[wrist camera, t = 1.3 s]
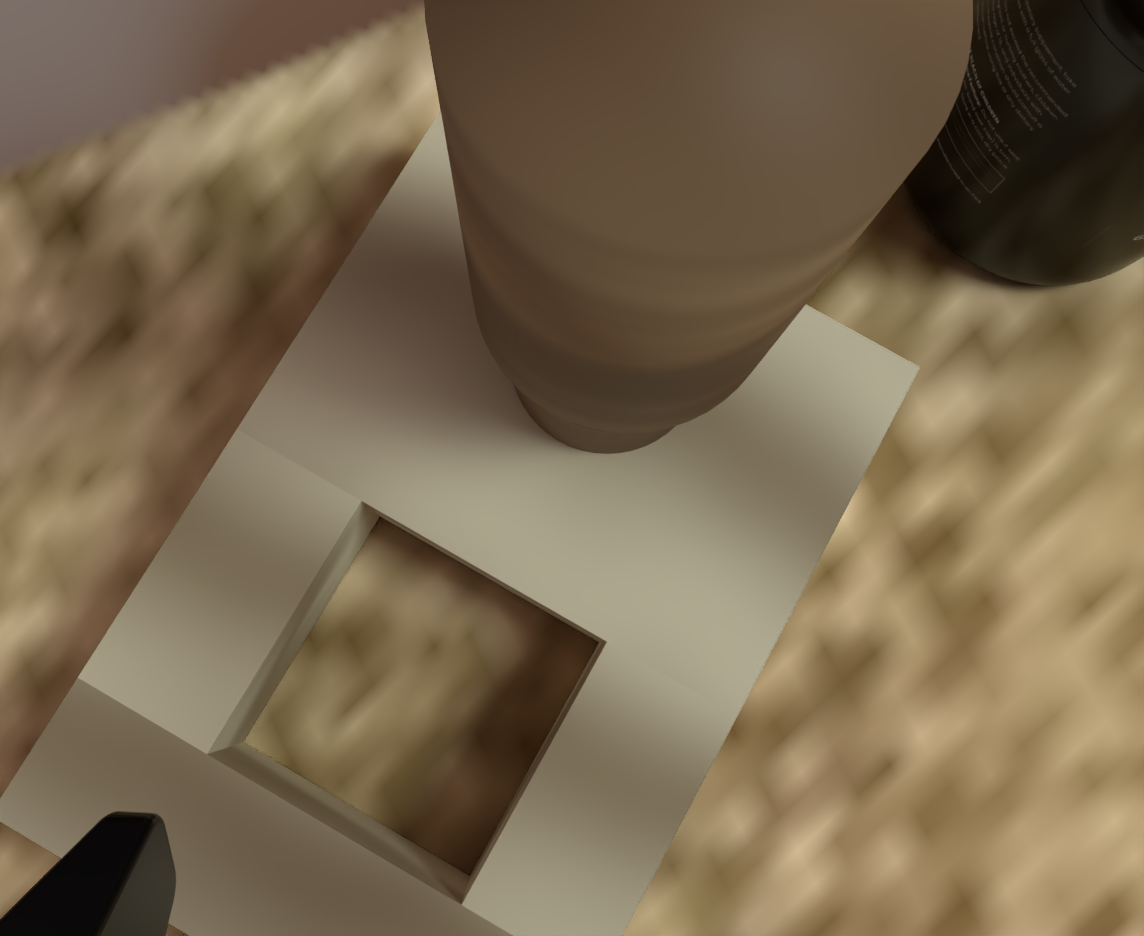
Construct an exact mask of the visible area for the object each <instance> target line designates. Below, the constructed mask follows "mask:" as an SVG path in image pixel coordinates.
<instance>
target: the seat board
mask: <svg viewBox="0 0 1144 936" xmlns="http://www.w3.org/2000/svg"><path fill="white" fill-rule="evenodd" d="M919 369H920V367H919V366H917V365H915V364H913V363H912V362H910V361H908V360H906V359H904V358H902V357H901V356H899V355H897V354H895V353H893V352H892V351H890V350H888V349H886V348H884V347H882V346H881V345H879V344H877V343H875V342H873V341H871V340H870V339H868V338H866V337H864V336H862V335H861V334H859V333H857V332H855V331H853V330H851V329H850V328H848V327H846V326H844V325H842V324H841V323H839V322H837V321H835V320H833V319H831V318H830V317H828V316H826V315H824V314H822V313H821V312H819V311H817V310H815V309H813V308H811V307H810V306H808V305H805V306H804V307H803V308H802V310H801V311H800V312H799V314H798V315H797V316H796V317H795V319H794V320H793V321H792V322H791V324H790V325H789V326H788V327H787V329H786V330H785V331H784V332H783V334H782V335H781V336H780V337H779V339H778V340H777V341H776V342H775V344H774V345H773V346H772V347H771V349H770V350H769V351H768V353H767V354H766V355H765V356H764V358H763V359H762V360H761V361H760V363H759V364H758V365H757V366H756V368H755V369H754V370H753V371H752V373H751V374H750V375H749V376H748V377H747V379H746V380H745V381H744V382H743V383H742V384H741V386H740V387H739V388H738V389H737V390H736V391H735V392H733V393H732V394H731V395H730V396H729V397H728V398H727V399H725V400H724V401H723V402H722V403H720V404H719V405H717V406H716V407H714V408H713V409H711V410H710V411H708V412H707V413H705V414H703V415H701V416H699V417H697V418H695V419H693V420H691V421H689V422H686V423H683V424H680V425H677V426H675V427H674V428H673V429H672V430H671V431H670V432H668V433H667V434H666V435H664V436H663V437H661V438H660V439H658V440H657V441H655V442H653V443H651V444H649V445H647V446H645V447H642V448H639V449H636V450H633V451H628V452H623V453H614V454H602V453H592V452H587V451H582V450H579V449H576V448H573V447H570V446H568V445H566V444H564V443H562V442H560V441H558V440H557V439H555V438H553V437H552V436H550V435H549V434H548V433H546V432H545V431H544V430H543V429H542V428H541V427H539V426H538V425H537V423H536V422H535V421H534V420H533V419H532V418H531V417H530V415H529V414H528V412H527V411H526V410H525V408H524V407H523V405H522V403H521V401H520V399H519V397H518V395H517V392H516V389H515V386H514V384H513V383H512V382H511V381H510V379H509V378H508V377H507V376H506V375H505V374H504V373H503V371H502V370H501V368H500V367H499V365H498V364H497V363H496V361H495V360H494V358H493V357H492V355H491V353H490V351H489V349H488V347H487V345H486V343H485V341H484V339H483V336H482V333H481V330H480V327H479V324H478V322H477V318H476V312H475V307H474V302H473V297H472V291H471V285H470V279H469V273H468V267H467V262H466V256H465V250H464V244H463V238H462V232H461V226H460V220H459V215H458V209H457V203H456V197H455V191H454V185H453V179H452V174H451V168H450V162H449V156H448V150H447V144H446V138H445V132H444V127H443V121H442V115H441V111H440V112H439V114H438V116H437V117H436V119H435V120H434V122H433V123H432V125H431V127H430V128H429V130H428V131H427V133H426V134H425V136H424V137H423V139H422V141H421V142H420V144H419V145H418V147H417V148H416V150H415V152H414V153H413V155H412V156H411V158H410V159H409V161H408V162H407V164H406V166H405V167H404V169H403V170H402V172H401V173H400V175H399V176H398V178H397V180H396V181H395V183H394V184H393V186H392V187H391V189H390V191H389V192H388V194H387V195H386V197H385V198H384V200H383V201H382V203H381V205H380V206H379V208H378V209H377V211H376V212H375V214H374V216H373V217H372V219H371V220H370V222H369V223H368V225H367V226H366V228H365V230H364V231H363V233H362V234H361V236H360V237H359V239H358V241H357V242H356V244H355V245H354V247H353V248H352V250H351V251H350V253H349V255H348V256H347V258H346V259H345V261H344V262H343V264H342V265H341V267H340V269H339V270H338V272H337V273H336V275H335V276H334V278H333V280H332V281H331V283H330V284H329V286H328V287H327V289H326V290H325V292H324V294H323V295H322V297H321V298H320V300H319V301H318V303H317V305H316V306H315V308H314V309H313V311H312V312H311V314H310V315H309V317H308V319H307V320H306V322H305V323H304V325H303V326H302V328H301V330H300V331H299V333H298V334H297V336H296V337H295V339H294V340H293V342H292V344H291V345H290V347H289V348H288V350H287V351H286V353H285V354H284V356H283V358H282V359H281V361H280V362H279V364H278V365H277V367H276V369H275V370H274V372H273V373H272V375H271V376H270V378H269V379H268V381H267V383H266V384H265V386H264V387H263V389H262V390H261V392H260V394H259V395H258V397H257V398H256V400H255V401H254V403H253V404H252V406H251V408H250V409H249V411H248V412H247V414H246V415H245V417H244V419H243V420H242V422H241V423H240V425H239V426H238V428H237V429H236V431H235V433H234V434H233V436H232V437H231V439H230V440H229V442H228V443H227V445H226V447H225V448H224V450H223V451H222V453H221V454H220V456H219V458H218V459H217V461H216V462H215V464H214V465H213V467H212V468H211V470H210V472H209V473H208V475H207V476H206V478H205V479H204V481H203V483H202V484H201V486H200V487H199V489H198V490H197V492H196V493H195V495H194V497H193V498H192V500H191V501H190V503H189V504H188V506H187V508H186V509H185V511H184V512H183V514H182V515H181V517H180V518H179V520H178V522H177V523H176V525H175V526H174V528H173V529H172V531H171V532H170V534H169V536H168V537H167V539H166V540H165V542H164V543H163V545H162V547H161V548H160V550H159V551H158V553H157V554H156V556H155V557H154V559H153V561H152V562H151V564H150V565H149V567H148V568H147V570H146V572H145V573H144V575H143V576H142V578H141V579H140V581H139V582H138V584H137V586H136V587H135V589H134V590H133V592H132V593H131V595H130V597H129V598H128V600H127V601H126V603H125V604H124V606H123V607H122V609H121V611H120V612H119V614H118V615H117V617H116V618H115V620H114V621H113V623H112V625H111V626H110V628H109V629H108V631H107V632H106V634H105V636H104V637H103V639H102V640H101V642H100V643H99V645H98V646H97V648H96V650H95V651H94V653H93V654H92V656H91V657H90V659H89V661H88V662H87V664H86V665H85V667H84V668H83V670H82V671H81V673H80V675H79V676H78V678H77V679H76V681H75V682H74V684H73V686H72V687H71V689H70V690H69V692H68V693H67V695H66V696H65V698H64V700H63V701H62V703H61V704H60V706H59V707H58V709H57V710H56V712H55V714H54V715H53V717H52V718H51V720H50V721H49V723H48V725H47V726H46V728H45V729H44V731H43V732H42V734H41V735H40V737H39V739H38V740H37V742H36V743H35V745H34V746H33V748H32V750H31V751H30V753H29V754H28V756H27V757H26V759H25V760H24V762H23V764H22V765H21V767H20V768H19V770H18V771H17V773H16V775H15V776H14V778H13V779H12V781H11V782H10V784H9V785H8V787H7V789H6V790H5V792H4V793H3V795H2V796H1V798H0V822H2V823H3V824H5V825H7V826H8V827H10V828H12V829H13V830H15V831H17V832H18V833H20V834H21V835H23V836H25V837H26V838H28V839H30V840H31V841H33V842H35V843H36V844H38V845H40V846H41V847H43V848H45V849H46V850H48V851H50V852H51V853H53V854H55V855H56V856H58V857H60V858H62V857H63V856H64V855H65V854H66V853H67V852H68V851H69V850H71V849H72V848H73V847H74V846H75V845H76V844H77V843H78V842H79V841H80V840H81V839H82V838H83V837H84V836H85V835H86V834H87V833H88V832H89V831H90V830H91V829H92V828H93V827H94V826H95V825H96V824H97V823H98V822H99V821H100V820H101V819H102V818H103V817H105V816H106V815H108V814H110V813H112V812H116V811H129V812H147V813H156V814H158V815H159V816H160V817H161V818H162V819H163V821H164V824H165V827H166V832H167V836H168V840H169V844H170V849H171V853H172V857H173V862H174V866H175V871H176V890H175V897H174V902H173V906H172V910H171V914H170V918H169V922H168V923H169V924H171V925H172V926H174V927H176V928H177V929H179V930H181V931H182V932H184V933H186V934H187V935H189V936H622V935H623V933H624V931H625V929H626V928H627V926H628V924H629V922H630V920H631V918H632V916H633V914H634V912H635V910H636V908H637V907H638V905H639V903H640V901H641V899H642V897H643V895H644V893H645V891H646V889H647V887H648V886H649V884H650V882H651V880H652V878H653V876H654V874H655V872H656V870H657V868H658V866H659V865H660V863H661V861H662V859H663V857H664V855H665V853H666V851H667V849H668V847H669V846H670V844H671V842H672V840H673V838H674V836H675V834H676V832H677V830H678V828H679V826H680V825H681V823H682V821H683V819H684V817H685V815H686V813H687V811H688V809H689V807H690V805H691V804H692V802H693V800H694V798H695V796H696V794H697V792H698V790H699V788H700V786H701V784H702V783H703V781H704V779H705V777H706V775H707V773H708V771H709V769H710V767H711V765H712V763H713V762H714V760H715V758H716V756H717V754H718V752H719V750H720V748H721V746H722V744H723V742H724V741H725V739H726V737H727V735H728V733H729V731H730V729H731V727H732V725H733V723H734V721H735V720H736V718H737V716H738V714H739V712H740V710H741V708H742V706H743V704H744V702H745V701H746V699H747V697H748V695H749V693H750V691H751V689H752V687H753V685H754V683H755V681H756V680H757V678H758V676H759V674H760V672H761V670H762V668H763V666H764V664H765V662H766V660H767V659H768V657H769V655H770V653H771V651H772V649H773V647H774V645H775V643H776V641H777V639H778V638H779V636H780V634H781V632H782V630H783V628H784V626H785V624H786V622H787V620H788V618H789V617H790V615H791V613H792V611H793V609H794V607H795V605H796V603H797V601H798V599H799V597H800V596H801V594H802V592H803V590H804V588H805V586H806V584H807V582H808V580H809V578H810V576H811V575H812V573H813V571H814V569H815V567H816V565H817V563H818V561H819V559H820V557H821V556H822V554H823V552H824V550H825V548H826V546H827V544H828V542H829V540H830V538H831V536H832V535H833V533H834V531H835V529H836V527H837V525H838V523H839V521H840V519H841V517H842V515H843V514H844V512H845V510H846V508H847V506H848V504H849V502H850V500H851V498H852V496H853V494H854V493H855V491H856V489H857V487H858V485H859V483H860V481H861V479H862V477H863V475H864V473H865V472H866V470H867V468H868V466H869V464H870V462H871V460H872V458H873V456H874V454H875V452H876V451H877V449H878V447H879V445H880V443H881V441H882V439H883V437H884V435H885V433H886V431H887V430H888V428H889V426H890V424H891V422H892V420H893V418H894V416H895V414H896V412H897V410H898V409H899V407H900V405H901V403H902V401H903V399H904V397H905V395H906V393H907V391H908V390H909V388H910V386H911V384H912V382H913V380H914V378H915V376H916V374H917V372H918V370H919ZM379 517H381V518H383V519H385V520H387V521H388V522H390V523H392V524H394V525H395V526H397V527H399V528H401V529H402V530H404V531H406V532H407V533H409V534H411V535H413V536H414V537H416V538H418V539H420V540H421V541H423V542H425V543H427V544H428V545H430V546H432V547H434V548H435V549H437V550H439V551H441V552H442V553H444V554H446V555H448V556H449V557H451V558H453V559H455V560H456V561H458V562H460V563H461V564H463V565H465V566H467V567H468V568H470V569H472V570H474V571H475V572H477V573H479V574H481V575H482V576H484V577H486V578H488V579H489V580H491V581H493V582H495V583H496V584H498V585H500V586H502V587H503V588H505V589H507V590H509V591H510V592H512V593H514V594H515V595H517V596H519V597H521V598H522V599H524V600H526V601H528V602H529V603H531V604H533V605H535V606H536V607H538V608H540V609H542V610H543V611H545V612H547V613H549V614H550V615H552V616H554V617H556V618H557V619H559V620H561V621H563V622H564V623H566V624H568V625H569V626H571V627H573V628H575V629H576V630H578V631H580V632H582V633H583V634H585V635H587V636H589V637H590V638H592V639H594V640H596V641H597V642H599V643H598V645H597V647H596V649H595V651H594V652H593V654H592V656H591V658H590V660H589V661H588V663H587V665H586V667H585V669H584V670H583V672H582V674H581V676H580V678H579V680H578V681H577V683H576V685H575V687H574V689H573V690H572V692H571V694H570V696H569V698H568V699H567V701H566V703H565V705H564V707H563V708H562V710H561V712H560V714H559V716H558V717H557V719H556V721H555V723H554V725H553V726H552V728H551V730H550V732H549V734H548V735H547V737H546V739H545V741H544V743H543V744H542V746H541V748H540V750H539V752H538V753H537V755H536V757H535V759H534V761H533V762H532V764H531V766H530V768H529V770H528V771H527V773H526V775H525V777H524V779H523V780H522V782H521V784H520V786H519V788H518V790H517V791H516V793H515V795H514V797H513V799H512V800H511V802H510V804H509V806H508V808H507V809H506V811H505V813H504V815H503V817H502V818H501V820H500V822H499V824H498V826H497V827H496V829H495V831H494V833H493V835H492V836H491V838H490V840H489V842H488V844H487V845H486V847H485V849H484V851H483V853H482V854H481V856H480V858H479V860H478V862H477V863H476V865H475V867H474V869H473V871H472V872H471V874H470V876H469V875H467V874H465V873H463V872H462V871H460V870H458V869H457V868H455V867H453V866H452V865H450V864H448V863H447V862H445V861H443V860H441V859H440V858H438V857H436V856H435V855H433V854H431V853H430V852H428V851H426V850H425V849H423V848H421V847H419V846H418V845H416V844H414V843H413V842H411V841H409V840H408V839H406V838H404V837H403V836H401V835H399V834H397V833H396V832H394V831H392V830H391V829H389V828H387V827H386V826H384V825H382V824H381V823H379V822H377V821H375V820H374V819H372V818H370V817H369V816H367V815H365V814H364V813H362V812H360V811H359V810H357V809H355V808H353V807H352V806H350V805H348V804H347V803H345V802H343V801H342V800H340V799H338V798H337V797H335V796H333V795H331V794H330V793H328V792H326V791H325V790H323V789H321V788H320V787H318V786H316V785H315V784H313V783H311V782H309V781H308V780H306V779H304V778H303V777H301V776H299V775H298V774H296V773H294V772H293V771H291V770H289V769H287V768H286V767H284V766H282V765H281V764H279V763H277V762H276V761H274V760H272V759H271V758H269V757H267V756H265V755H264V754H262V753H260V752H259V751H257V750H255V749H254V748H252V747H250V746H249V745H247V744H245V743H243V742H244V740H245V739H246V737H247V735H248V734H249V732H250V730H251V729H252V727H253V725H254V724H255V722H256V720H257V719H258V717H259V715H260V714H261V712H262V710H263V709H264V707H265V705H266V704H267V702H268V701H269V699H270V697H271V696H272V694H273V692H274V691H275V689H276V687H277V686H278V684H279V682H280V681H281V679H282V677H283V676H284V674H285V672H286V671H287V669H288V667H289V666H290V664H291V663H292V661H293V659H294V658H295V656H296V654H297V653H298V651H299V649H300V648H301V646H302V644H303V643H304V641H305V639H306V638H307V636H308V634H309V633H310V631H311V629H312V628H313V626H314V625H315V623H316V621H317V620H318V618H319V616H320V615H321V613H322V611H323V610H324V608H325V606H326V605H327V603H328V601H329V600H330V598H331V596H332V595H333V593H334V592H335V590H336V588H337V587H338V585H339V583H340V582H341V580H342V578H343V577H344V575H345V573H346V572H347V570H348V568H349V567H350V565H351V563H352V562H353V560H354V558H355V557H356V555H357V554H358V552H359V550H360V549H361V547H362V545H363V544H364V542H365V540H366V539H367V537H368V535H369V534H370V532H371V530H372V529H373V527H374V525H375V524H376V522H377V520H378V519H379Z"/></svg>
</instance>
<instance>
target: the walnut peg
mask: <svg viewBox="0 0 1144 936" xmlns="http://www.w3.org/2000/svg"><path fill="white" fill-rule="evenodd" d="M424 3H425V21H426V27H427V33H428V38H429V44H430V50H431V56H432V62H433V68H434V74H435V80H436V85H437V91H438V97H439V103H440V109H441V115H442V121H443V127H444V132H445V138H446V144H447V150H448V156H449V162H450V168H451V174H452V179H453V185H454V191H455V197H456V203H457V209H458V215H459V220H460V226H461V232H462V238H463V244H464V250H465V256H466V262H467V267H468V273H469V279H470V285H471V291H472V297H473V302H474V307H475V312H476V318H477V322H478V324H479V327H480V330H481V333H482V336H483V339H484V341H485V343H486V345H487V347H488V349H489V351H490V353H491V355H492V357H493V358H494V360H495V361H496V363H497V364H498V365H499V367H500V368H501V370H502V371H503V373H504V374H505V375H506V376H507V377H508V378H509V379H510V381H511V382H512V383H513V384H514V386H515V389H516V392H517V395H518V397H519V399H520V401H521V403H522V405H523V407H524V408H525V410H526V411H527V412H528V414H529V415H530V417H531V418H532V419H533V420H534V421H535V422H536V423H537V425H538V426H539V427H541V428H542V429H543V430H544V431H545V432H546V433H548V434H549V435H550V436H552V437H553V438H555V439H557V440H558V441H560V442H562V443H564V444H566V445H568V446H570V447H573V448H576V449H579V450H582V451H587V452H592V453H602V454H614V453H623V452H628V451H633V450H636V449H639V448H642V447H645V446H647V445H649V444H651V443H653V442H655V441H657V440H658V439H660V438H661V437H663V436H664V435H666V434H667V433H668V432H670V431H671V430H672V429H673V428H674V427H675V426H677V425H680V424H683V423H686V422H689V421H691V420H693V419H695V418H697V417H699V416H701V415H703V414H705V413H707V412H708V411H710V410H711V409H713V408H714V407H716V406H717V405H719V404H720V403H722V402H723V401H724V400H725V399H727V398H728V397H729V396H730V395H731V394H732V393H733V392H735V391H736V390H737V389H738V388H739V387H740V386H741V384H742V383H743V382H744V381H745V380H746V379H747V377H748V376H749V375H750V374H751V373H752V371H753V370H754V369H755V368H756V366H757V365H758V364H759V363H760V361H761V360H762V359H763V358H764V356H765V355H766V354H767V353H768V351H769V350H770V349H771V347H772V346H773V345H774V344H775V342H776V341H777V340H778V339H779V337H780V336H781V335H782V334H783V332H784V331H785V330H786V329H787V327H788V326H789V325H790V324H791V322H792V321H793V320H794V319H795V317H796V316H797V315H798V314H799V312H800V311H801V310H802V308H803V307H804V306H805V305H806V303H807V302H808V301H809V300H810V298H811V297H812V296H813V295H814V293H815V292H816V291H817V290H818V288H819V287H820V286H821V285H822V283H823V282H824V281H825V280H826V278H827V277H828V276H829V274H830V273H831V272H832V271H833V269H834V268H835V267H836V266H837V264H838V263H839V262H840V261H841V259H842V258H843V257H844V256H845V254H846V253H847V252H848V251H849V249H850V248H851V247H852V246H853V244H854V243H855V242H856V241H857V239H858V238H859V237H860V235H861V234H862V233H863V232H864V230H865V229H866V228H867V227H868V225H869V224H870V223H871V222H872V220H873V219H874V218H875V217H876V215H877V214H878V213H879V212H880V210H881V209H882V208H883V207H884V205H885V204H886V203H887V201H888V200H889V199H890V198H891V196H892V195H893V194H894V193H895V191H896V190H897V189H898V188H899V186H900V185H901V184H902V183H903V181H904V180H905V179H906V178H907V176H908V175H909V174H910V173H911V171H912V170H913V169H914V168H915V166H916V165H917V164H918V162H919V161H920V160H921V159H922V157H923V156H924V155H925V154H926V152H927V151H928V150H929V148H930V146H931V145H932V143H933V142H934V140H935V139H936V137H937V136H938V134H939V132H940V131H941V129H942V128H943V126H944V125H945V123H946V121H947V119H948V117H949V114H950V112H951V110H952V108H953V106H954V103H955V101H956V99H957V97H958V94H959V92H960V89H961V85H962V82H963V78H964V75H965V71H966V68H967V64H968V61H969V54H970V46H971V39H972V32H973V0H424Z"/></svg>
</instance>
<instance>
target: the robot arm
mask: <svg viewBox="0 0 1144 936" xmlns="http://www.w3.org/2000/svg"><path fill="white" fill-rule="evenodd" d="M175 890H176V871H175V866H174V862H173V857H172V853H171V849H170V844H169V840H168V836H167V832H166V827H165V824H164V821H163V819H162V818H161V817H160V816H159V815H158V814H156V813H147V812H129V811H116V812H112V813H110V814H108V815H106V816H105V817H103V818H102V819H101V820H100V821H99V822H98V823H97V824H96V825H95V826H94V827H93V828H92V829H91V830H90V831H89V832H88V833H87V834H86V835H85V836H84V837H83V838H82V839H81V840H80V841H79V842H78V843H77V844H76V845H75V846H74V847H73V848H72V849H71V850H69V851H68V852H67V853H66V854H65V855H64V856H63V857H62V858H61V859H60V860H59V861H58V862H57V863H56V864H55V865H54V866H53V867H52V868H51V869H50V870H49V871H48V872H47V873H46V874H45V875H44V876H43V877H42V878H41V879H40V880H39V881H38V882H37V883H36V884H35V885H34V886H33V887H32V888H31V889H30V890H29V891H28V892H27V893H26V894H25V895H24V896H23V897H22V898H21V899H20V900H19V901H18V902H17V903H16V904H15V905H14V906H13V907H12V908H11V909H10V910H9V911H8V912H7V913H6V914H5V915H4V916H3V917H2V918H1V919H0V936H165V935H166V931H167V926H168V922H169V918H170V914H171V910H172V906H173V902H174V897H175Z"/></svg>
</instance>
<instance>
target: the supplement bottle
mask: <svg viewBox="0 0 1144 936" xmlns="http://www.w3.org/2000/svg"><path fill="white" fill-rule="evenodd" d="M904 184H905V186H906V189H907V191H908V194H909V196H910V198H911V200H912V202H913V204H914V205H915V207H916V209H917V210H918V212H919V214H920V215H921V217H922V218H923V219H924V221H925V222H926V223H927V225H928V226H929V227H930V229H931V230H932V231H933V232H934V233H935V234H936V235H937V236H938V237H939V238H940V239H941V240H942V241H943V242H944V243H945V244H946V245H947V246H948V247H949V248H951V249H952V250H953V251H954V252H956V253H957V254H958V255H960V256H961V257H963V258H964V259H966V260H967V261H969V262H970V263H972V264H974V265H976V266H978V267H980V268H982V269H983V270H985V271H988V272H990V273H993V274H995V275H998V276H1000V277H1003V278H1007V279H1010V280H1013V281H1017V282H1022V283H1027V284H1035V285H1050V286H1058V285H1071V284H1078V283H1083V282H1089V281H1092V280H1096V279H1099V278H1102V277H1105V276H1107V275H1110V274H1112V273H1115V272H1117V271H1119V270H1121V269H1123V268H1125V267H1127V266H1128V265H1130V264H1132V263H1134V262H1136V261H1137V260H1139V259H1141V258H1142V257H1144V0H973V32H972V39H971V46H970V54H969V61H968V64H967V68H966V71H965V75H964V78H963V82H962V85H961V89H960V92H959V94H958V97H957V99H956V101H955V103H954V106H953V108H952V110H951V112H950V114H949V117H948V119H947V121H946V123H945V125H944V126H943V128H942V129H941V131H940V132H939V134H938V136H937V137H936V139H935V140H934V142H933V143H932V145H931V146H930V148H929V150H928V151H927V152H926V154H925V155H924V156H923V157H922V159H921V160H920V161H919V162H918V164H917V165H916V166H915V168H914V169H913V170H912V171H911V173H910V174H909V175H908V176H907V178H906V179H905V180H904Z"/></svg>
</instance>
